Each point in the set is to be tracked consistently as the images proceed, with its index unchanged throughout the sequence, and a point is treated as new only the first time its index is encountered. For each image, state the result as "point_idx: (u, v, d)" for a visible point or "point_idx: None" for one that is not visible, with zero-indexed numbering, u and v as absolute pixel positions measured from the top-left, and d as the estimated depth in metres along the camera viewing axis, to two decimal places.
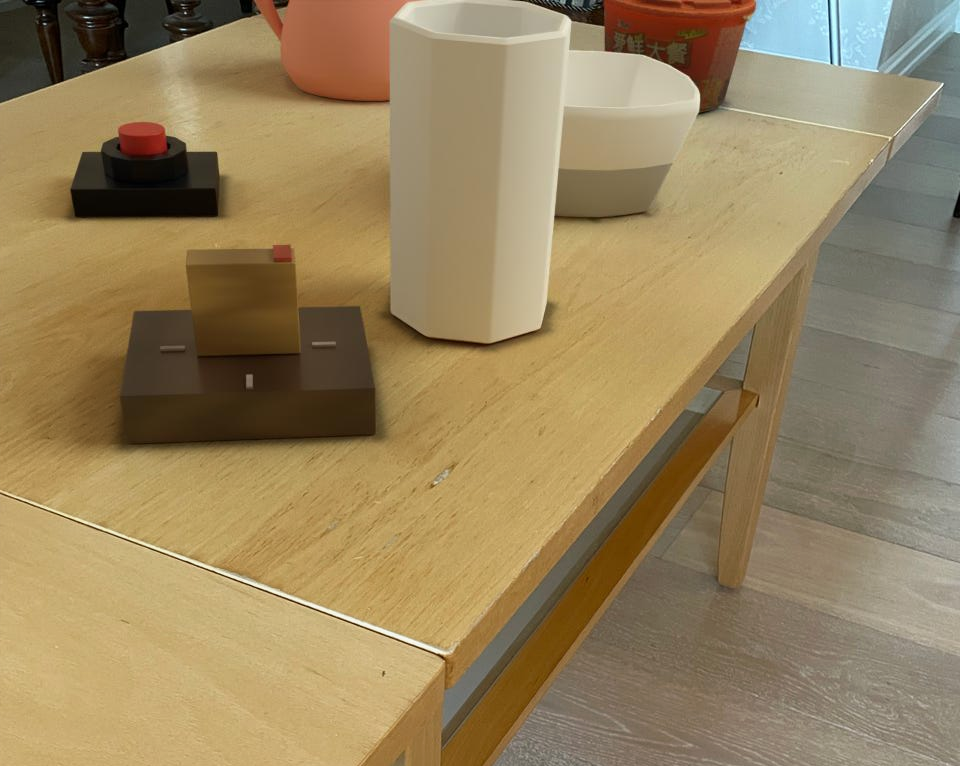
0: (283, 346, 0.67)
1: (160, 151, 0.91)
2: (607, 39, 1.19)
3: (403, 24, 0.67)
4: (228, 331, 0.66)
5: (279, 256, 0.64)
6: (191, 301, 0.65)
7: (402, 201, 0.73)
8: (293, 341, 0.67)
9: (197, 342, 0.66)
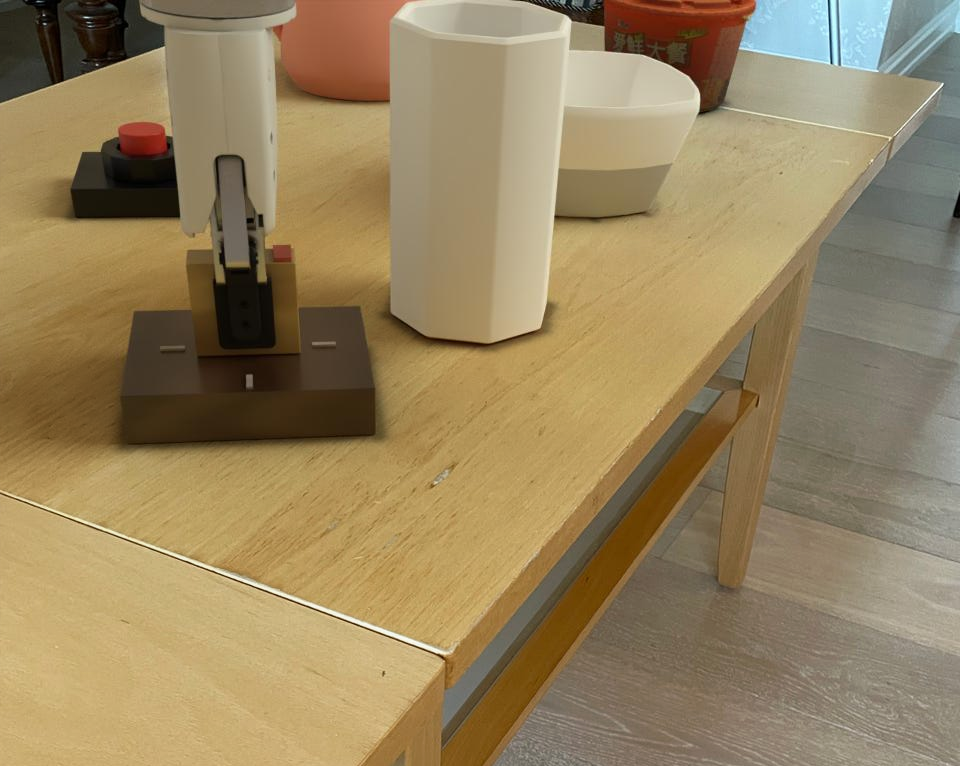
0: (283, 346, 0.67)
1: (160, 151, 0.91)
2: (607, 39, 1.19)
3: (403, 24, 0.67)
4: None
5: (279, 256, 0.64)
6: (191, 301, 0.65)
7: (402, 201, 0.73)
8: (293, 341, 0.67)
9: (197, 342, 0.66)
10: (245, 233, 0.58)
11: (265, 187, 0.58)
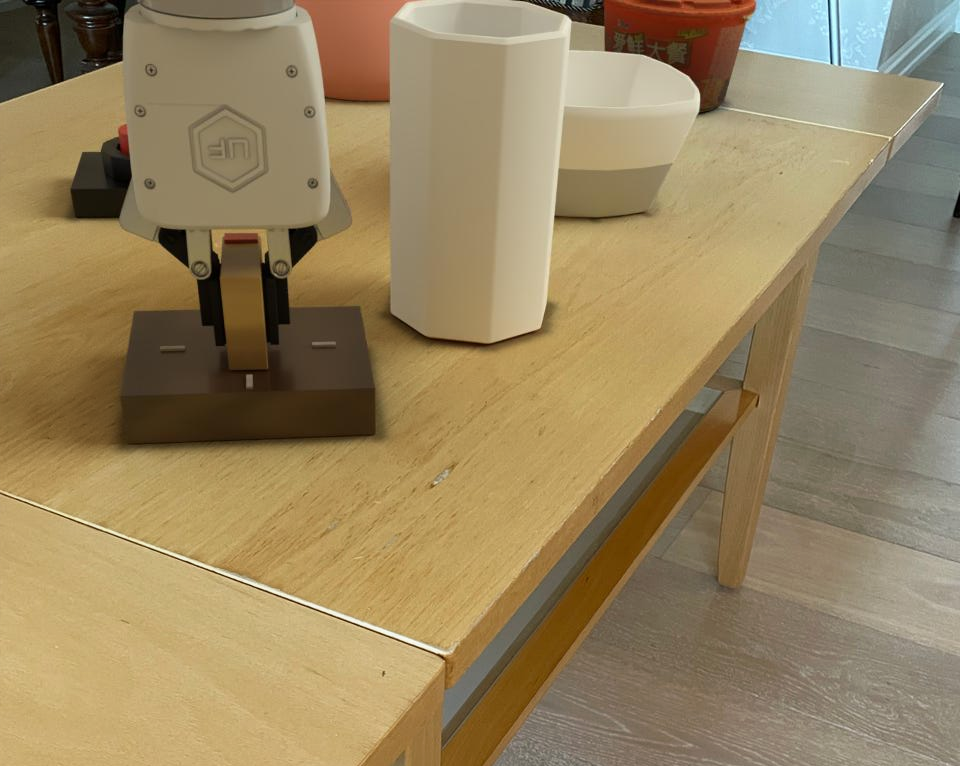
0: None
1: None
2: (607, 39, 1.19)
3: (403, 24, 0.67)
4: None
5: (253, 237, 0.66)
6: (263, 313, 0.64)
7: (402, 201, 0.73)
8: None
9: (267, 354, 0.66)
10: (340, 190, 0.64)
11: None
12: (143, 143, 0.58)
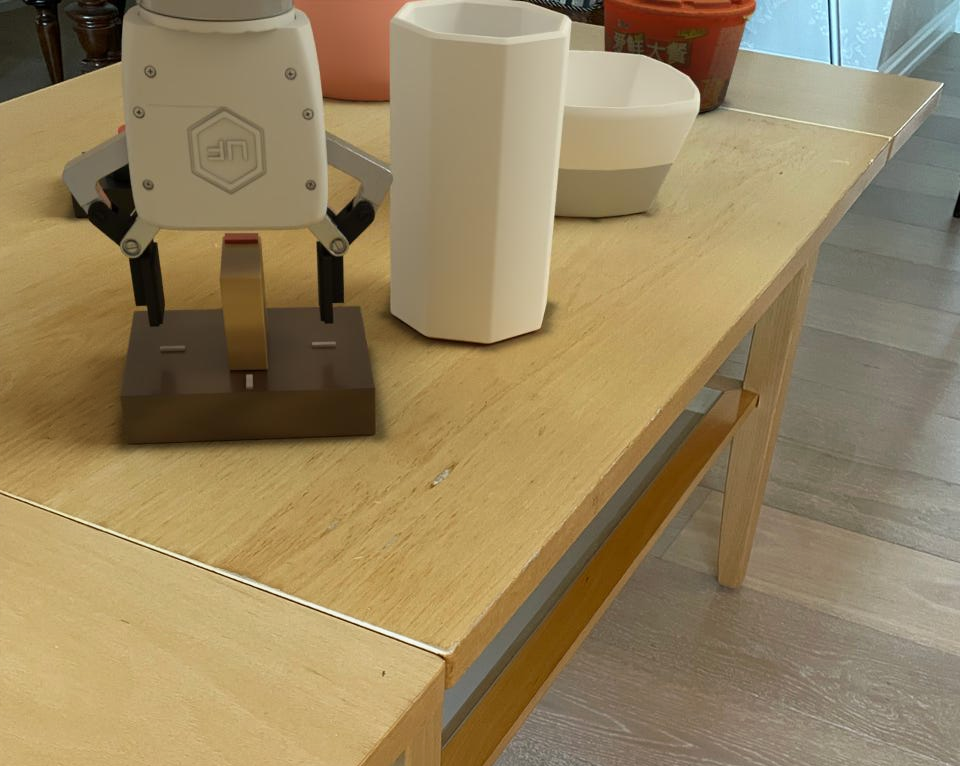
0: None
1: None
2: (607, 39, 1.19)
3: (403, 24, 0.67)
4: None
5: (253, 237, 0.66)
6: (263, 314, 0.64)
7: (402, 201, 0.73)
8: None
9: (266, 354, 0.66)
10: (367, 153, 0.63)
11: None
12: (142, 144, 0.58)
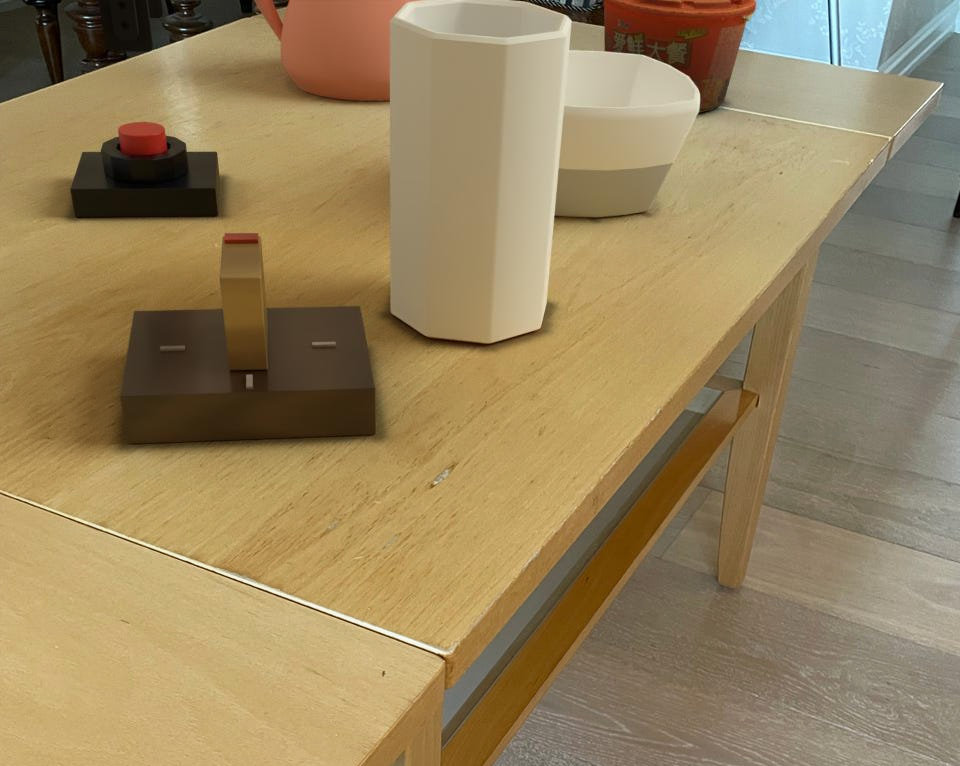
0: None
1: (160, 151, 0.91)
2: (607, 39, 1.19)
3: (403, 24, 0.67)
4: None
5: (253, 237, 0.66)
6: (263, 314, 0.64)
7: (402, 201, 0.73)
8: None
9: (266, 354, 0.66)
10: None
11: None
12: None
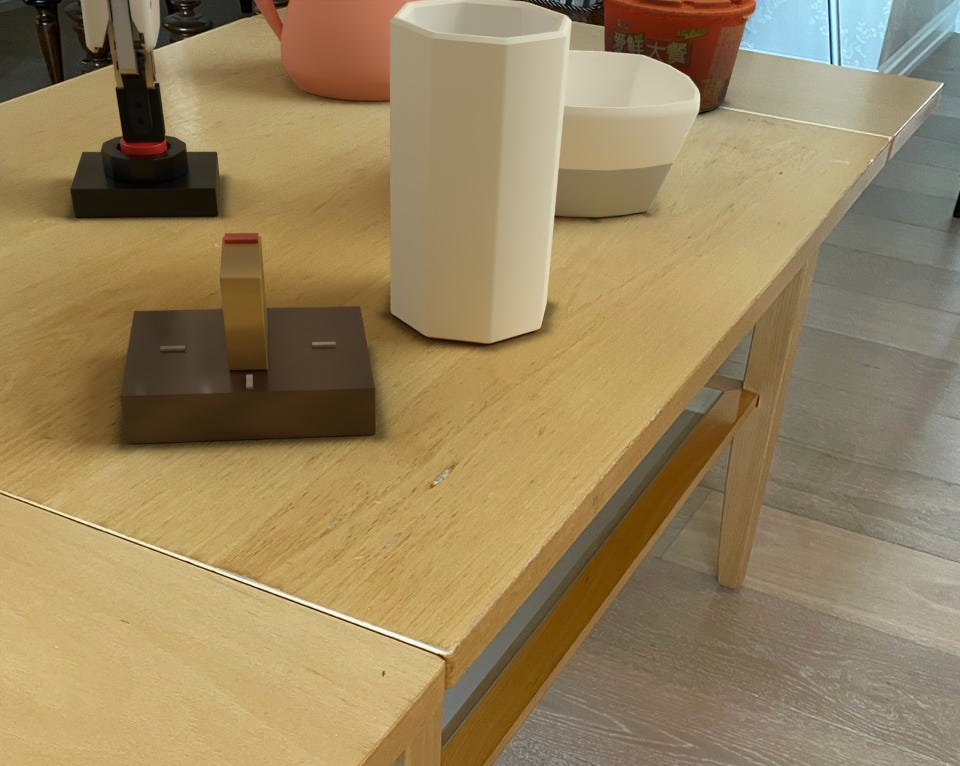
0: None
1: None
2: (607, 39, 1.19)
3: (403, 24, 0.67)
4: None
5: (253, 237, 0.66)
6: (263, 314, 0.64)
7: (402, 201, 0.73)
8: None
9: (266, 354, 0.66)
10: (132, 49, 0.83)
11: (143, 12, 0.82)
12: None
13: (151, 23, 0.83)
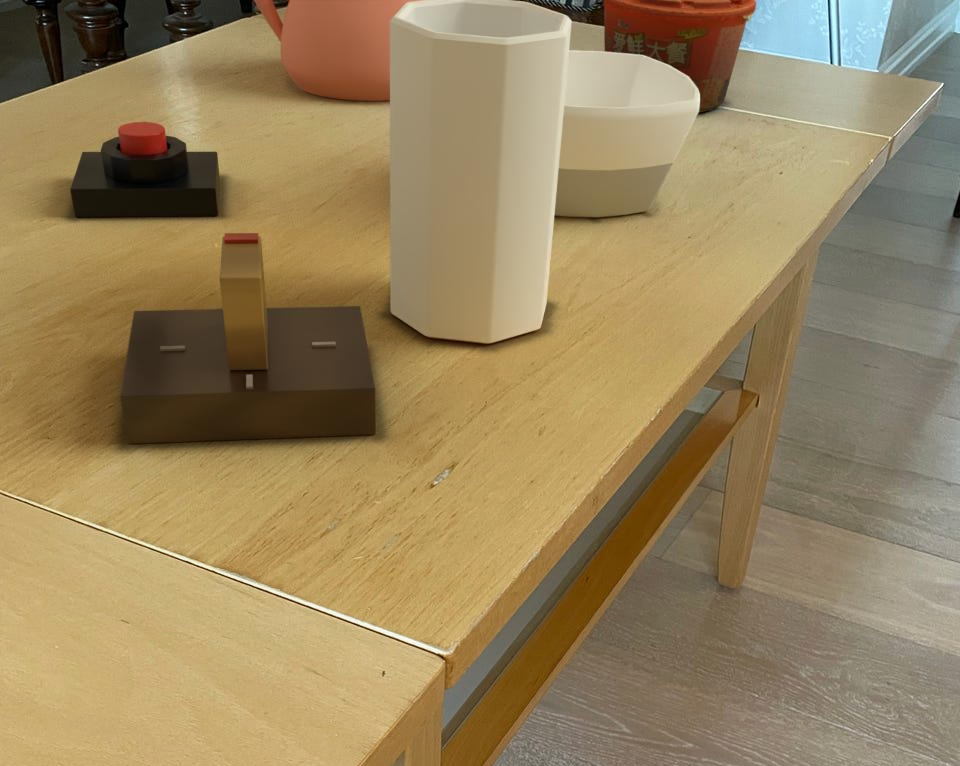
0: None
1: (160, 151, 0.91)
2: (607, 39, 1.19)
3: (403, 24, 0.67)
4: None
5: (253, 237, 0.66)
6: (263, 314, 0.64)
7: (402, 201, 0.73)
8: None
9: (266, 354, 0.66)
10: None
11: None
12: None
13: None
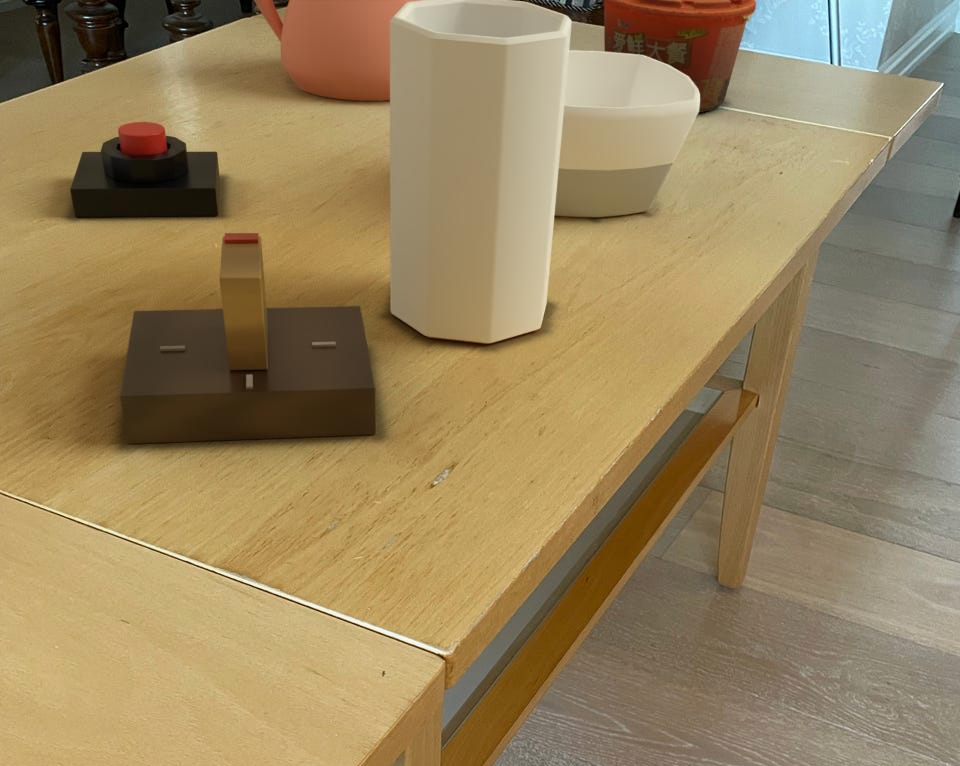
0: None
1: (160, 151, 0.91)
2: (607, 39, 1.19)
3: (403, 24, 0.67)
4: None
5: (253, 237, 0.66)
6: (263, 314, 0.64)
7: (402, 201, 0.73)
8: None
9: (266, 354, 0.66)
10: None
11: None
12: None
13: None
